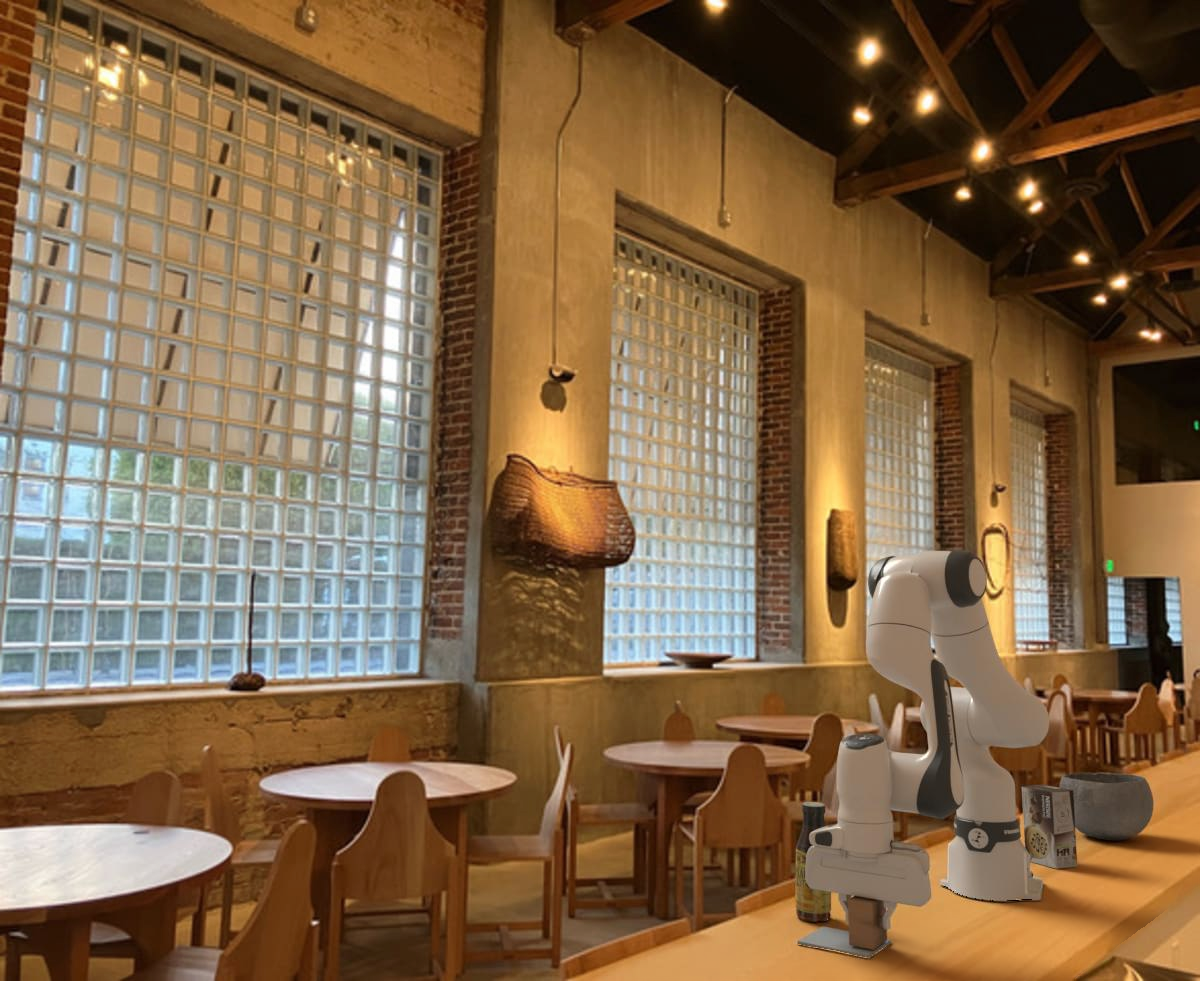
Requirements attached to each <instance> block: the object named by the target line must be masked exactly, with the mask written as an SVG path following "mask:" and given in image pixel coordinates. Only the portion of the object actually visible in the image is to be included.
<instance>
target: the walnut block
mask: <svg viewBox="0 0 1200 981" xmlns="http://www.w3.org/2000/svg"><path fill="white" fill-rule="evenodd" d="M886 910H887V908H884V901H882V900H876V899H870V898H864V897H858V896H851V898H850V899H848V918H849V923H848V931H849V945H852V946H857V947H862V948H867V949H872V950H874V949H875V948H877V947H878V946H879V945H881V944H882V943H884V942H885V941H887V939H888V930H884V929H879V928H878V924H879V923H878V917H880V916H881V915H884V914H885V912H886Z"/></svg>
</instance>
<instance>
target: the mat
mask: <svg viewBox="0 0 1200 981" xmlns="http://www.w3.org/2000/svg"><path fill="white" fill-rule="evenodd" d="M891 942H892V938H891V939H890V938H887V941H885V942H884V943H882V944H881V945H879V946H878V947H877V948H875V949H874V950H872V949H867V948H862V947H857V946H852V945H849V930H843V929H839V928H834V927H833V928H832V927H828V926H821V927H819V928H818V929H815V930H814V931H812V932H811V933H809V934H808V935H805V936H804V937H802V938H800V939H799V940H797V945H798V944H801V945H805V946H811V947H818V948H824V949H830V950H836V951H840V952H844V953H849V954H852V955H857V956H862V957H867V958H869V957H871V956H872V955H874V954H875V953H876V952H878V951H879V950H881V949H882V948H884V947H885V946H887V945H888V944H890V943H891ZM891 944H892V943H891ZM891 944H890V945H891ZM801 945H800V946H801ZM805 946H804V947H805ZM888 946H889V945H888ZM888 946H887V947H888ZM884 949H885V948H884ZM881 951H882V950H881ZM878 953H879V952H878ZM874 956H875V955H874ZM871 958H872V957H871Z"/></svg>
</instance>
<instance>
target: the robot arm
mask: <svg viewBox="0 0 1200 981" xmlns="http://www.w3.org/2000/svg"><path fill="white" fill-rule="evenodd" d="M987 578H988V577H987V572H986V567H985V565H984V562H982V560H981V559H980V557H978V555H976V554H975V553H974V552H973V551H969V550H963V549H953V550H952V551H951V550H926V551H925V550H924V551H920V552H916V553H915V552H914V553H907V554H903V555H898V556H895V555H890V556H886V557H884V558H881V559H878V560H876V561H875V563H874V564H873V566H872V567H871V569H870V571H869V573H868V577H867V585H868V591H869V595H870V597H871V599H872V600H871V604H870V609H869V612H868V613H869V614H868V619H867V620H868V621H867V627H866V628H867V629H866V638H865V651H866V652H865V653H866V658H867V660H868V662H869V664H870V666H871V667H872V668H873V669H874V670H875V671H876V673H878V674H879V675H881V677H882V678H885V679H887V680H888V681H890V682H892V683H894V684H895V685H896V684H897V685H898V686H901V687H903V688H905V689H907V690H910V691H912V692H914V693H915V694H916V695H918V696H919V697H920V699H921V704H920V707H919V718H920V721H921V724H922V726H923V729H924V730H925V731H926V734H927V744H928V745H927V746H928V749H927V751H926V753H923V754H921V753H907V752H897V751H896V750H895V751H893V750H890V749H889V748H888V744H887V741H886V738H884V736H882V735H878V734H875V733H859V734H858V733H857V734H850V735H848V736H846V737H843V739H841V740H840V743H839V746H838V754H837V760H836V793H837V796H838V801H839V806H838V810H837V819H836V820H837V822H836V823H832V824H829V825H826V826H825V825H824V826H825V827H822V828H819V829H816V830H814V831H813V832H811V833H810V835H809V840H810V843H811V844H812V845H813V846H811V847H810V848H809V850H808V852H807V856H806V867H805V879H806V883H807V884H808V886H809V887H810V888H811V889H816V890H822V891H828V892H831V893H835V894H837V895H838V901H839V904H840V906H841V908H842V910H843V911H844V912H845V923H847V924H849V918H848V899H850V898H852V897H853V896H858V897H864V898H870V899H876V900H882V901H884V908H886V912H885V914H884V915H881V916H880V917H878V923H879V924H878V928H879V929H884V930H887V931H888V930H890V928H891V917H892V916H893V914H894V912H895V910H896V909H897V907H898V904H900V905H906V906H912V907H919V908H921V907H923V906H926V905H927V904H928V903H929V902H930V900H931V899H932V888H931V887H932V886H931V879H930V873H929V870H930V867H931V866H930V865H931V864H930V863H931V861H930V855H929V853H928V851H927V850H926V849H925V848H923V847H921V845H920V844H919V843H913V842H912V843H907V842H904V841H897V840H894V818H893V817H894V816H893V813H892V811H895V812H896V811H897V812H904V813H910V814H911V813H913V814H919V815H921V816H926V817H931V818H936V819H938V820H939V819H940V820H945V819H946V818H948V817H949V816H951V815H952V814H953V813H955V812H956V814H955V815H954V821H953V827H954V834H955V835H956V836H955V837H954V838H953V840H951V841H950V842H949V843H948V845H947V865H946V866H947V874H946V876H947V877H944V878H941V879H940V881H939V886H941V885H943V886H946V887H948V888H947V889H949V890H950V889H951V890H952V892H953V891H954V892H953V893H954V894H957V893H958V894H957V895H959V894H960V895H959V896H962V895H963V896H962V897H966V896H967V897H968V898H969V899H970V898H971V899H975V898H976V899H977V900H982V899H983V900H984V901H990V900H991V901H992V900H993V901H994V902H1008V901H1007V900H1016V899H1032V900H1031V901H1041V900H1042V896H1043V895H1042V894H1043V889H1044V888H1043V887H1044V881H1043V878H1041V877H1039V876H1035V875H1034V872H1033V871H1032V870H1031V862H1030V856H1029V853H1028V851H1027V850H1026V848H1025V844H1023V841H1022V840H1021V837H1022V835H1021V834H1022V833H1021V819H1020V818H1021V817H1020V816H1017V804H1016V803H1017V802H1016V800H1017V799H1016V784H1015V780H1014V778H1013V776H1012V775H1011V773H1010V772H1009V771H1008V770H1007V769H1005V768H1004V767H1003V766H1001V765H1000V764H998V763H997V761H995V760H994V758H993V756H992V755H991V753H990V749H989V747H988V746H990V747H999V748H1008V749H1009V748H1010V749H1017V748H1018V749H1019V748H1028V747H1036V746H1038V745H1040V744H1041V743H1042V742H1043V741H1044V739H1045V738H1046V736H1047V734H1048V732H1049V728H1050V716H1049V711H1048V709H1047V707H1046V705H1045V704H1044V703H1043V701H1042V699H1040V698H1039V697H1038V696H1037V695H1034V694H1033V693H1031V692H1030V691H1028V690H1027V689H1026V688H1025V687H1023V686H1022V685H1021V684H1020V683H1019V682H1018V681H1017V680H1016V679H1015V678H1014V677H1013V675H1012V674H1011V673H1010V672H1009V671H1008V669H1007V668H1006V665H1005V664H1004V663H1003V661H1002V660H1001V656H1000V655H999V652H998V649H997V647H996V644H995V641H994V637H993V633H992V630H991V625H990V622H989V618H988V615H987V611H986V608H985V605H984V603H983V600H982V598H983V597H984V595H985V593H986V590H987V583H988V582H987V581H988V580H987ZM931 639H932V640H931ZM932 643H933V646H934V647H933V648H934V650H935V654H936V656H934V655H935V654H934V653H933V649H932ZM936 658H937V659H936ZM949 677H951V678H952V679H954V680H955V681H957V682H958V683H960V685H961V686H963V687H959V686H951V684H950V678H949ZM943 886H942V887H943ZM946 887H945V888H946ZM951 890H950V891H951ZM993 901H992V902H993Z"/></svg>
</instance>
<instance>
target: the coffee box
mask: <svg viewBox="0 0 1200 981" xmlns="http://www.w3.org/2000/svg"><path fill="white" fill-rule="evenodd" d="M1059 787H1060V786H1058V787H1057V786H1053V785H1047V784H1032V785H1027V786H1023V785H1022V786H1021V797H1022V800H1021V801H1022V816H1023V832H1024V833H1023V835H1024V837H1023V838H1024V847H1025V848H1026V850H1027V851H1028V853H1029V856H1030V863H1035V864H1036V865H1037V864H1038V865H1041V866H1045V867H1049V868H1052V869H1056V870H1059V869H1068V868H1069V869H1070V868H1077V867H1078V856H1077V836H1076V828H1075V813H1074V794H1073V792H1074V790H1070V789H1064V788H1059Z"/></svg>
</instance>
